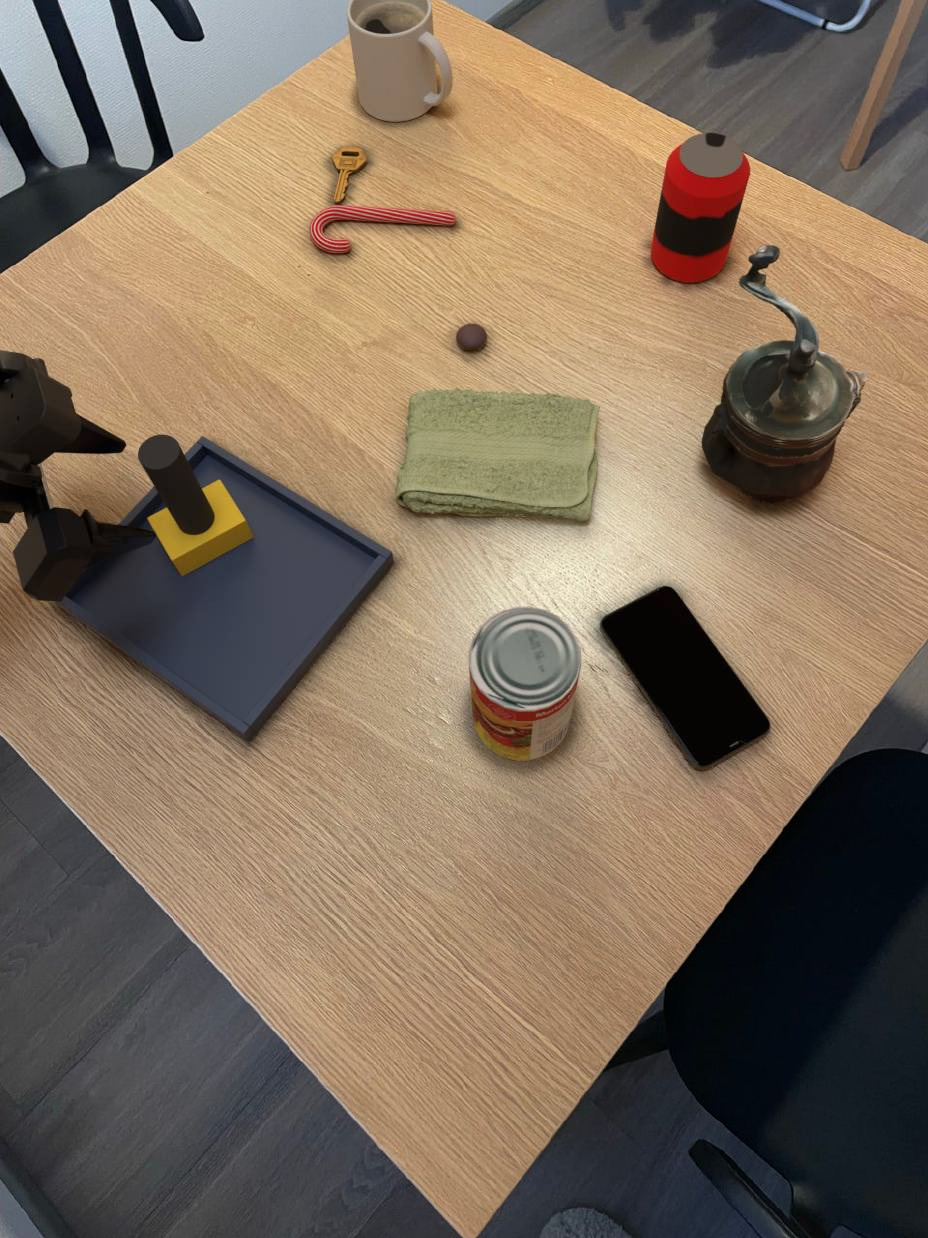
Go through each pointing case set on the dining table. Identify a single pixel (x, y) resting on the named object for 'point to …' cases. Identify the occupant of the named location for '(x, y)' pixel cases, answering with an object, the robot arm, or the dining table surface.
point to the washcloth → (499, 454)
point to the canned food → (523, 681)
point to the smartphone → (684, 677)
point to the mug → (397, 58)
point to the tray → (234, 596)
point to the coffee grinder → (779, 406)
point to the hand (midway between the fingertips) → (138, 491)
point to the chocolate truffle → (471, 336)
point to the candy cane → (370, 215)
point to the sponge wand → (190, 508)
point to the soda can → (699, 207)
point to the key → (347, 168)
